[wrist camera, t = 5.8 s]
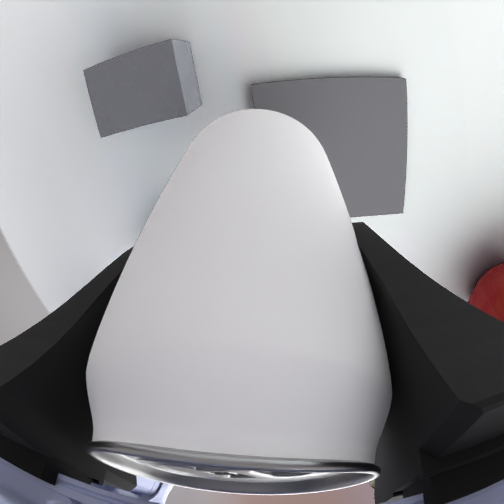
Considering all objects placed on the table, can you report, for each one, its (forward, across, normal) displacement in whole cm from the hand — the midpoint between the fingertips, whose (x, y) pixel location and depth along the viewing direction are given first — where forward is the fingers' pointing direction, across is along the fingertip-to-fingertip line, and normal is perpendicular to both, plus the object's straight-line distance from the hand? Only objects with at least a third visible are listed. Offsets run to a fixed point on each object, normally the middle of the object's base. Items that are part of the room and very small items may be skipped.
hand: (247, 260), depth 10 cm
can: (+6, 0, -1) cm, 6 cm away
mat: (+10, -5, 0) cm, 11 cm away
